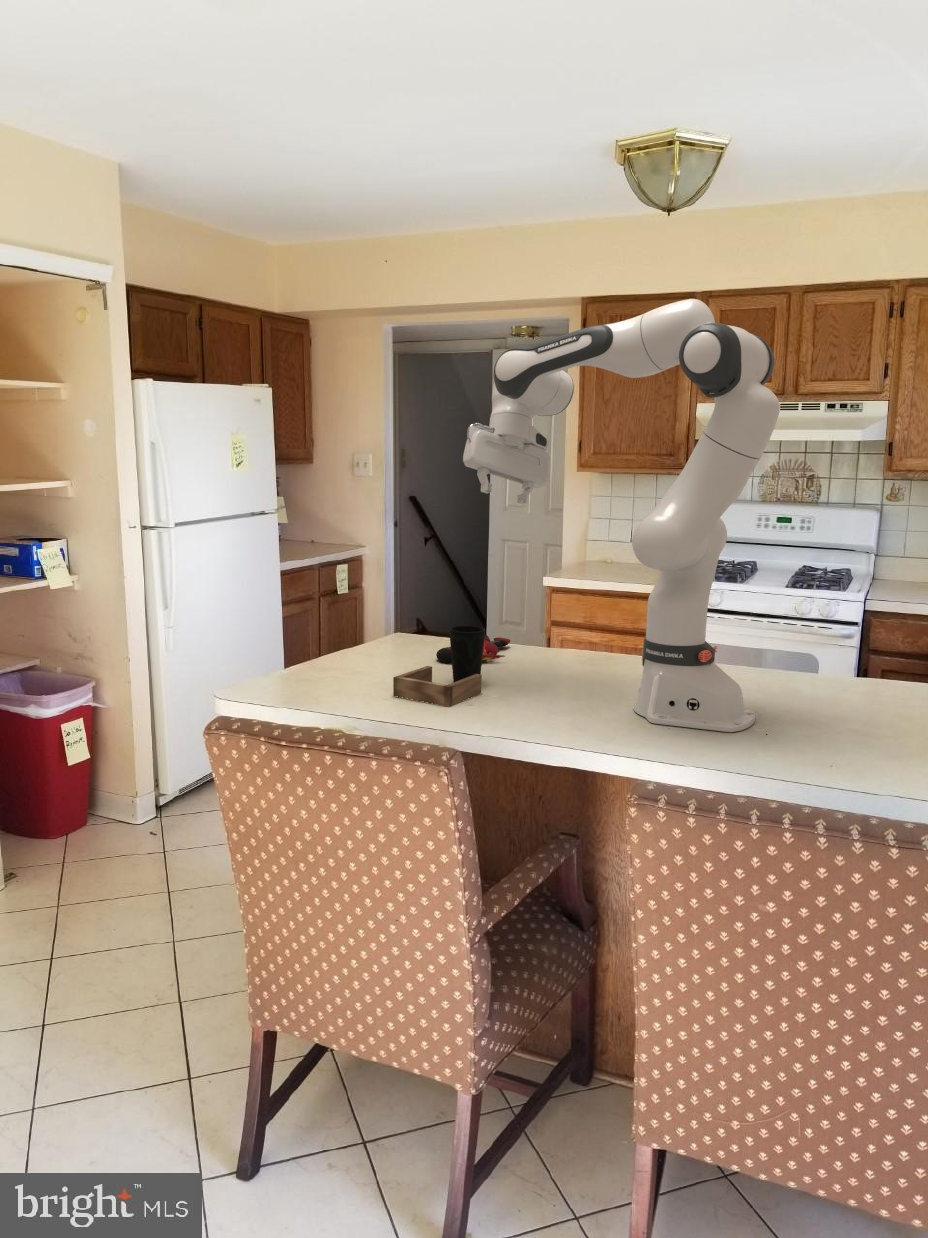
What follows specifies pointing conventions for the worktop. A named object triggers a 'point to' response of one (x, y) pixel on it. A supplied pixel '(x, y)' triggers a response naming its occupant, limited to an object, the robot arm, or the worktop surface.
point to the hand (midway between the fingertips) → (504, 497)
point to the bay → (435, 687)
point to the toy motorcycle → (488, 650)
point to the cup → (466, 650)
